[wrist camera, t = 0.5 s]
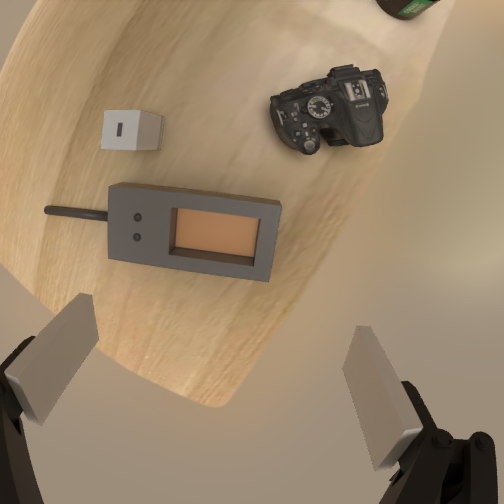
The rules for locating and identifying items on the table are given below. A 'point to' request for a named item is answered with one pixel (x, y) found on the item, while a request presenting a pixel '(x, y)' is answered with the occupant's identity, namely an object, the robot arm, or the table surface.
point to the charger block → (132, 130)
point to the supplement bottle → (406, 7)
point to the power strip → (188, 229)
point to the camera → (332, 110)
